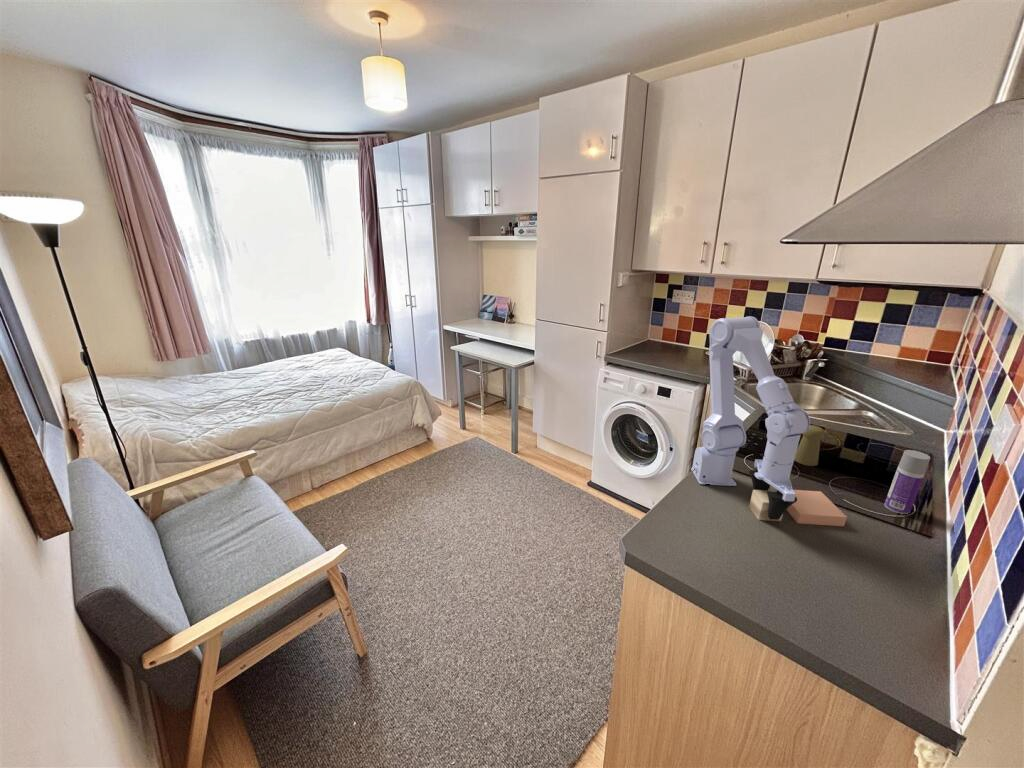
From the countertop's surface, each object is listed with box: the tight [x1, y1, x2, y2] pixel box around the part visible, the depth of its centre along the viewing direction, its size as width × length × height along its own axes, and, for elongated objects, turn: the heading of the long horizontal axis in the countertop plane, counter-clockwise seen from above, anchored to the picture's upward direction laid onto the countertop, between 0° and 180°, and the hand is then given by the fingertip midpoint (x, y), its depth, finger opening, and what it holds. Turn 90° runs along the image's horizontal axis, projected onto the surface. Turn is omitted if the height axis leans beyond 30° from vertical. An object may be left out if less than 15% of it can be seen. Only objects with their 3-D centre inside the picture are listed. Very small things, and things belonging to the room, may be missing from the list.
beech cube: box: [748, 489, 784, 522], centre depth 97 cm, size 5×5×5 cm
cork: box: [794, 424, 826, 467], centre depth 119 cm, size 6×6×11 cm
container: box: [883, 449, 931, 515], centre depth 97 cm, size 5×5×15 cm
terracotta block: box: [785, 489, 848, 527], centre depth 98 cm, size 10×10×3 cm
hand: (765, 508), depth 97 cm, fingers open, 7 cm apart
